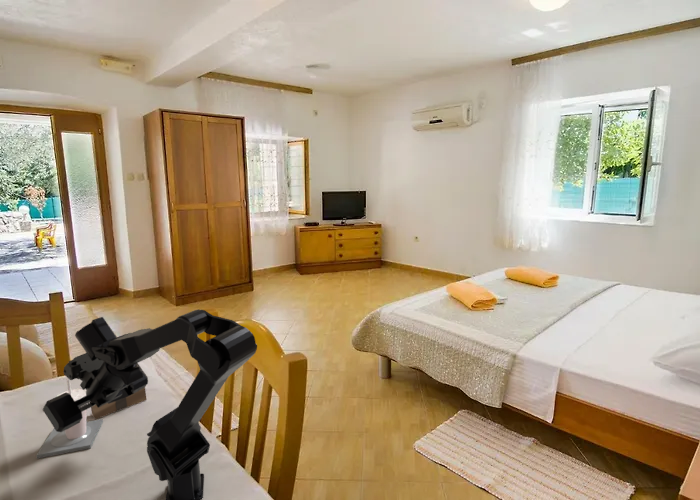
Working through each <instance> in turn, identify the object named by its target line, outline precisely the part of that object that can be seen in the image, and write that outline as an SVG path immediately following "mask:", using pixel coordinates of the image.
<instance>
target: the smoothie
mask: <svg viewBox="0 0 700 500" xmlns="http://www.w3.org/2000/svg"><path fill="white" fill-rule="evenodd" d="M66 384H67V390H66V391H63V392H60V393H59V394H58V395H56V397H57V396H59V395H61V394H64V393H69V394H70V395H71V397H72V398H73V400H74V401H77V400H79V399H81V398H83V397H85V396H87V395H86V391H87V390H86V389H84V390H83V389H82V388H72V387H71V386H72V384H71V380H69V379H68V378H66ZM85 405H86V404H85ZM82 417H83V418H82V419H81V421H80V423H78V424H76V425H74V426H72V427H70V428H69V429H66V430H65V433H66V436H67V438H68V439H75V438H78V437H81V436H82V435H84V434H85V433H86V422H87V410H85V411H83V412H82Z"/></svg>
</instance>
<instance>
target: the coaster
mask: <svg viewBox="0 0 700 500" xmlns="http://www.w3.org/2000/svg"><path fill="white" fill-rule="evenodd" d="M103 424H104V420H103V419H102V418H99V419H94V420H89V421H86V433H85V434H84V435H82V436H81V437H78V438H75V439H68V438H67V436H66V433H65V430H64V431H62V432H57V431H56V430H55V428H54V427H53V429H52V430H51V432H50V433H49V435H48V437H47V438H46V440H45V441H44V443H43V444H42V445H41V447H40V449H39V450H38V452H37V453H36V459H41V458H48V457H51V456H52V457H53V456H57V455H62V454H68V453H73V452H74V453H75V452H77V451H78V452H79V451H84V450H89V449H92V446H93V445H94V442H95V440H96V438H97V436H98V433H99V432H100V429H101V428H102V425H103Z"/></svg>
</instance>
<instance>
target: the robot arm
mask: <svg viewBox="0 0 700 500" xmlns="http://www.w3.org/2000/svg"><path fill="white" fill-rule="evenodd" d="M203 333H205V334H207V335H211V336H214V337H211V338H209V339H208V340H206V341H204V340H203V339H201V337H199V336H198V335H201V334H203ZM74 337H75V338H76V339H77V341H78V342H79V344H80V346H81V347H82V348H83V349H84V351H85V353H82V354H79V355H77V356H75V357H74V358H73V359H71V360H69V361H68V362H67V363H66V364H65V366H64V367H63V371H62V373H63V375H64V376H65V377H66V379H69V380H70V381H73V380H75V379H77V380H80V381H81V382H80V385H79V387H81V388H82V389H83V390H84V389H86V390H87V391H86V395H87V396H85V397H83V398H81V399H79V400H77V401H74V400H73V398H72V397H71V395H70V394H69V393H64V394H61V393H60V394H61V395H59V394H58V395H59V396H58V395H56V396H57V397H53V398H51V399H49V400H47V401H46V402H45V404H44V406H43V408H42V411H43V413H44V414H45V416H46V418H47V419H48V420H49V422H50V423H51V425H52V427H53V429H54V428H55V430H56V431H57V432H62V431H64V430H66V429H69V428H70V427H72V426H74V425H76V424H78V423H80V421H81V419H82V418H83V417H82V412H83V411H85V410H86V411H87V410H88V409H91V407H92V406H94V405H97V407H98V408H99V407H101V406H103V405H105V404H107V403H108V404H110V403H112V402H115V401H118V400H120V399H123V398H126V397H128V396H130V395H132V394H134V393H136V392H138V391H139V390H141V389H143V388H145V389H146V387H147V385H148V384H149V378H148V376H147V374H146V373H145V371H144V370H143V369H142V368H141V366H140V364H139V363H140V362H142V361H144V360H146V359H149V358H151V357H153V356H154V355H156V353H158V352H159V351H160V350H161V349H163V348H165V347H168V346H170V345H172V344H175V343H178V342H180V341H183V342H184V343H186V346H187V347H186V348H187V349H188V352H189V354H190V357H191V358H192V359H193V360H195V361H197V365H198V367H199V371H198V373H197V375H196V376H195V378H194V380H193V381H192V383H191V385H190V386H189V388H188V389H187V391H186V393H185V394H184V396H183V398H182V399H181V401H180V403H179V404H178V406H177V407H175V408H174V409H173V410H170V412H168V413H166V414H165V415H164V416H162V417H160V418H159V419H157V420H156V421H154V422H153V425H152V426H151V427H152V428H151V430H150V432H148V433H146V436H148V438H147V441H146V446H147V447H146V452H147V455H148V456H147V457H148V458H149V462H150V464H151V467H152V470H153V472H154V474H155V475H157V476H158V479H159V480H158V481H160V482H164V481H167V482H166V483H167V488H166V490H167V491H166V495H165V500H200V499H202V498H203V499H204V486H205V474H204V473H201V467H200V466H201V465H200V459H202V457H204V456H205V455H207V454H208V453H209V451H210V447H211V444H210V443H209V441H208V440H207V438H206V437H205V435H204V433H202V431H201V429H202V428H201V425H200V423H199V422H200V421H201V420H202V417H203V416H204V414H205V413H206V411H207V410H208V409H209V407H210V406H211V404H212V403H213V401H214V399H215V398H216V396H217V395H218V394H219V392H220V390H221V389H222V387H223V386H224V384H225V383H226V382H227V380H228V378H229V377H230V376H231V375H232V374H234V373H235V372H236V371H238V369H240V368H241V367H242V366H243V365H245V363H247V362H248V361H249V360H250V359H251V358H252V357H254V355H255V354H256V352H257V350H258V345H257V342H256V338H255V335H254V334H253V332H251V331H250V330H249V329H248V328H247V327H245V326H243V325H242V324H239V323H238V322H236V321H235V320H233V319H229V318H225V317H222V316H217V315H213V314H211V313H210V312H208V311H207V310H204V309H198V308H197V309H194V310H191V311H190V312H186V313H184V314H182V315H179V316H177V318H176V319H173V320H171V321H169V322H167V323H165V324H162V325H160V326H157V327H155V328H150V327H149V328H143V329H142V328H141V329H138V330H136V331H135V330H134V331H133V332H129V333H125V334H122V335H119V336H117V335H116V333H115V332H114V331H113V329H112V328H111V326H110V325H109V324H108V322H107V321H106V319H105V318H104V316H100V317H98V318H95V319H94V318H93V319H92V320H91V322H90V323H87V324H86V325H84V326H83V327H82V328H81V329H79V330H77V331H76V332H75V335H74ZM85 404H86V405H85ZM203 499H202V500H203Z"/></svg>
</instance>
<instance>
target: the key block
mask: <svg viewBox="0 0 700 500" xmlns="http://www.w3.org/2000/svg"><path fill="white" fill-rule="evenodd" d="M146 391H147V390H146V387H145V388H143V389H141V390H139V391H138V392H136V393H134V394H132V395H130V396H128V397H126V398H123V399H120V400H118V401H115V402H112V403H110V404H108V403H107V404H105V405H103V406H101V407H99V408H98V407H97V405H94V406H92V407H90V410H91V415H92V418H93V419H94V420H99V419H101V418H103V417H105V416H107V415H111V414H113V413H115V412H119V411H122V410H124V409H126V408H129V407H131V406H135V405H137V404H140V403H142V402H145V401H147V393H146Z"/></svg>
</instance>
